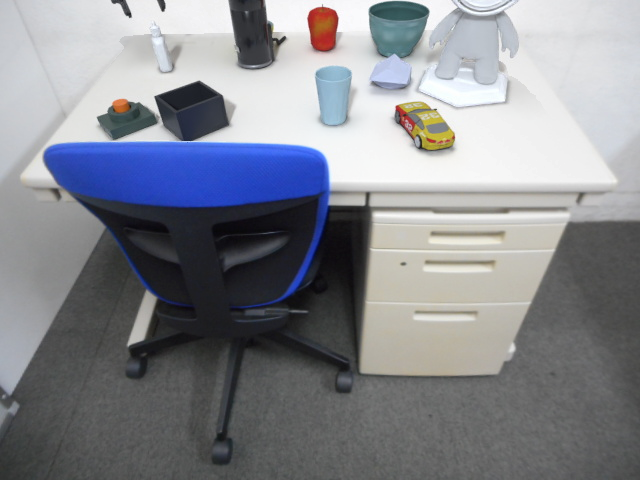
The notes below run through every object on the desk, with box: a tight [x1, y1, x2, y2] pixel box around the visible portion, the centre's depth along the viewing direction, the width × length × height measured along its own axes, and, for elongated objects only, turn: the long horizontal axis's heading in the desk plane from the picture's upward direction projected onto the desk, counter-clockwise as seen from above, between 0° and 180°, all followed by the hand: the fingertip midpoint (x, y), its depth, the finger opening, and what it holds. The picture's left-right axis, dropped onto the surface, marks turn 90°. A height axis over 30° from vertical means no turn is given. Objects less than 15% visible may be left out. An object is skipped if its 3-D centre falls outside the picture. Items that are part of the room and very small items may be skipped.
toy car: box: [394, 101, 456, 151], centre depth 85 cm, size 8×17×5 cm, turn 16°
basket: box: [153, 80, 230, 142], centre depth 89 cm, size 11×10×7 cm
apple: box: [306, 3, 340, 52], centre depth 116 cm, size 9×8×12 cm
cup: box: [314, 65, 353, 126], centre depth 88 cm, size 8×8×10 cm
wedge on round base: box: [368, 54, 413, 90], centre depth 101 cm, size 9×7×13 cm
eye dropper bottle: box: [149, 20, 173, 73], centre depth 109 cm, size 4×6×12 cm
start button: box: [111, 98, 130, 113], centre depth 89 cm, size 3×3×2 cm
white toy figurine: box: [418, 0, 520, 108], centre depth 89 cm, size 20×23×35 cm
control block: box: [96, 100, 158, 140], centre depth 91 cm, size 10×8×4 cm
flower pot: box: [367, 0, 431, 58], centre depth 114 cm, size 16×16×11 cm
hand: (147, 13), depth 107 cm, fingers open, 8 cm apart
